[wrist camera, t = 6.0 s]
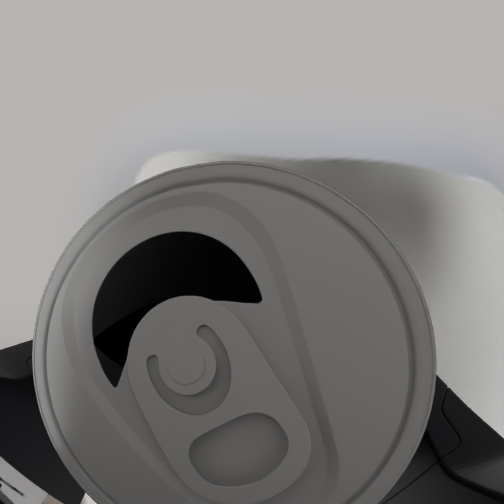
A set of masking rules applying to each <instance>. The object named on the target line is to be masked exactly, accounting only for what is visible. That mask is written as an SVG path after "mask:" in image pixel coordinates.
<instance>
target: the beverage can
mask: <svg viewBox="0 0 504 504" xmlns="http://www.w3.org/2000/svg"><path fill="white" fill-rule="evenodd" d="M151 303H155V304H156V305H157V306H155V307H154V308H153V309H151V310H150V311H149V312H148V313H147V314H146V315H145V316H144V317H143V318H142V320H141V321H140V322H139V324H138V325H137V327H136V329H135V331H134V333H133V335H132V338H131V341H130V344H129V349H128V356H127V360H126V363H125V366H124V367H123V366H121V365H119V364H118V363H116V362H114V361H113V360H111V359H110V358H108V357H107V356H106V355H105V354H104V353H103V352H101V351H100V350H99V349H98V348H97V347H96V346H95V345H94V339H95V337H96V336H98V335H99V334H100V333H101V332H103V331H104V330H105V329H107V328H108V327H110V326H111V325H113V324H114V323H116V322H117V321H119V320H121V319H122V318H124V317H126V316H127V315H129V314H131V313H133V312H134V311H136V310H138V309H140V308H142V307H144V306H146V305H148V304H151ZM32 361H33V378H34V386H35V391H36V397H37V401H38V406H39V410H40V413H41V416H42V419H43V422H44V425H45V427H46V430H47V433H48V435H49V437H50V440H51V442H52V444H53V446H54V448H55V449H56V451H57V453H58V455H59V457H60V458H61V460H62V462H63V463H64V465H65V466H66V468H67V469H68V471H69V472H70V473H71V475H72V476H73V478H74V479H75V480H76V481H77V483H78V484H79V485H80V486H81V487H82V489H83V490H84V491H85V492H86V493H87V494H88V495H89V496H90V497H91V498H92V499H93V500H94V501H95V502H96V503H97V504H378V503H379V502H380V501H381V500H382V499H383V498H384V497H385V496H386V494H387V493H388V492H389V491H390V490H391V489H392V487H393V486H394V485H395V484H396V482H397V481H398V480H399V478H400V477H401V475H402V474H403V472H404V471H405V470H406V468H407V466H408V465H409V463H410V461H411V460H412V458H413V456H414V454H415V452H416V450H417V448H418V446H419V444H420V441H421V439H422V437H423V434H424V432H425V429H426V426H427V423H428V419H429V416H430V412H431V408H432V403H433V398H434V392H435V382H436V347H435V339H434V332H433V326H432V322H431V318H430V314H429V310H428V307H427V304H426V301H425V298H424V295H423V292H422V290H421V287H420V285H419V283H418V281H417V279H416V277H415V275H414V273H413V271H412V269H411V267H410V266H409V264H408V262H407V261H406V259H405V257H404V256H403V254H402V253H401V251H400V250H399V248H398V247H397V245H396V244H395V243H394V241H393V240H392V239H391V237H390V236H389V235H388V234H387V233H386V232H385V230H384V229H383V228H382V227H381V226H380V225H379V224H378V223H377V222H376V221H375V220H374V219H373V218H372V217H371V216H370V215H369V214H367V213H366V212H365V211H364V210H363V209H362V208H360V207H359V206H358V205H356V204H355V203H354V202H352V201H351V200H350V199H348V198H347V197H345V196H344V195H342V194H341V193H339V192H338V191H336V190H334V189H333V188H331V187H329V186H327V185H325V184H323V183H321V182H319V181H317V180H315V179H312V178H310V177H308V176H306V175H303V174H301V173H298V172H295V171H291V170H288V169H284V168H280V167H276V166H272V165H268V164H262V163H253V162H241V161H220V162H211V163H204V164H198V165H192V166H186V167H181V168H177V169H173V170H170V171H166V172H164V173H161V174H158V175H156V176H153V177H151V178H149V179H147V180H144V181H142V182H140V183H138V184H136V185H134V186H132V187H131V188H129V189H128V190H126V191H125V192H123V193H121V194H119V195H118V196H116V197H115V198H114V199H112V200H111V201H110V202H108V203H107V204H106V205H105V206H104V207H102V208H101V209H100V210H99V211H98V212H97V213H96V214H94V215H93V216H92V217H91V218H90V219H89V220H88V221H87V222H86V223H85V224H84V225H83V227H82V228H81V229H80V230H79V231H78V232H77V234H76V235H75V236H74V237H73V238H72V240H71V241H70V242H69V244H68V245H67V247H66V248H65V250H64V252H63V253H62V255H61V256H60V258H59V259H58V261H57V263H56V265H55V267H54V269H53V271H52V273H51V275H50V277H49V279H48V282H47V284H46V287H45V290H44V292H43V295H42V298H41V301H40V305H39V309H38V313H37V317H36V322H35V329H34V337H33V351H32Z"/></svg>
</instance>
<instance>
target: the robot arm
mask: <svg viewBox="0 0 504 504" xmlns="http://www.w3.org/2000/svg"><path fill="white" fill-rule="evenodd" d="M155 306H157V305H156V304H155V303H151V304H148V305H146V306H144V307H142V308H140V309H138V310H136V311H134V312H133V313H131V314H129V315H127V316H126V317H124V318H122V319H121V320H119V321H117V322H116V323H114V324H113V325H111V326H110V327H108V328H107V329H105V330H104V331H103V332H101V333H100V334H99V335H98V336H96V337H95V339H94V345H95V346H96V347H97V348H98V349H99V350H100V351H101V352H103V353H104V354H105V355H106V356H107V357H108V358H110V359H111V360H113V361H114V362H116V363H118V364H119V365H121V366H123V367H124V366H125V363H126V360H127V356H128V349H129V344H130V341H131V338H132V335H133V333H134V331H135V329H136V327H137V325H138V324H139V322H140V321H141V320H142V318H143V317H144V316H145V315H146V314H147V313H148V312H149V311H150V310H151V309H153V308H154V307H155ZM32 351H33V340H30V341H27V342H24V343H21V344H17V345H15V346H11V347H8V348H5V349H2V350H0V504H43V503H44V502H45V500H46V499H47V497H48V495H51V496H53V497H54V498H55V499H57V500H59V501H60V502H62V503H64V504H80V503H81V501H82V499H83V497H84V494H85V491H84V490H83V489H82V487H81V486H80V485H79V484H78V483H77V481H76V480H75V479H74V478H73V476H72V475H71V473H70V472H69V471H68V469H67V468H66V466H65V465H64V463H63V462H62V460H61V458H60V457H59V455H58V453H57V451H56V449H55V448H54V446H53V444H52V442H51V440H50V437H49V435H48V433H47V430H46V427H45V425H44V422H43V419H42V416H41V413H40V410H39V406H38V401H37V397H36V391H35V386H34V378H33V361H32ZM378 504H504V438H503V437H501V436H500V435H499V434H498V433H497V432H496V431H495V430H494V429H492V428H491V427H490V426H489V425H488V424H487V423H486V422H484V421H483V420H482V419H481V418H480V417H479V416H478V415H477V414H475V413H474V412H473V411H472V410H471V409H470V408H469V407H468V406H467V405H466V404H465V403H464V402H463V401H462V400H461V399H460V398H459V397H458V396H457V395H456V394H455V393H454V392H453V391H452V390H451V389H450V388H447V385H446V384H445V383H444V382H443V381H442V380H441V379H440V378H439V377H438V376H437V375H436V382H435V392H434V398H433V403H432V408H431V412H430V416H429V419H428V423H427V426H426V429H425V432H424V434H423V437H422V439H421V441H420V444H419V446H418V448H417V450H416V452H415V454H414V456H413V458H412V460H411V461H410V463H409V465H408V466H407V468H406V470H405V471H404V472H403V474H402V475H401V477H400V478H399V480H398V481H397V482H396V484H395V485H394V486H393V487H392V489H391V490H390V491H389V492H388V493H387V494H386V496H385V497H384V498H383V499H382V500H381V501H380V502H379V503H378Z"/></svg>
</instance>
